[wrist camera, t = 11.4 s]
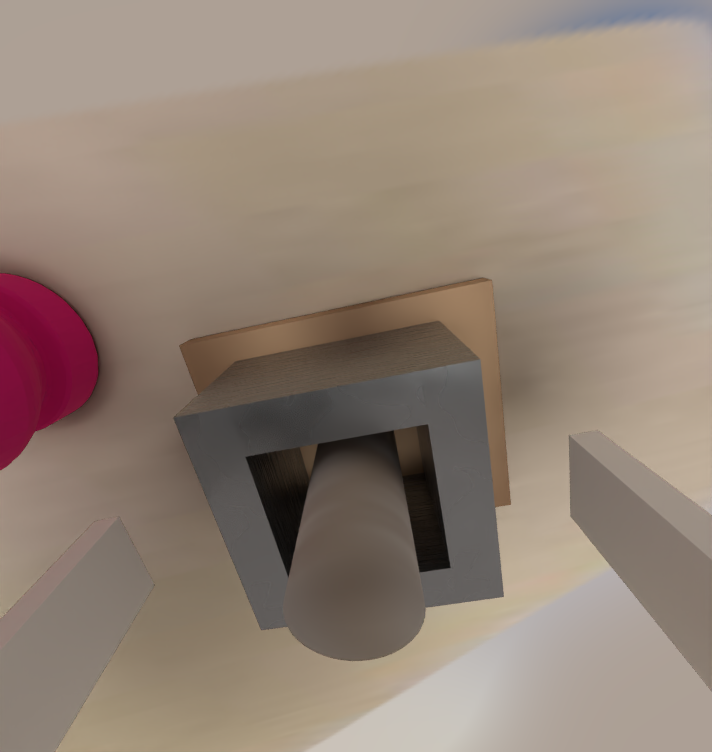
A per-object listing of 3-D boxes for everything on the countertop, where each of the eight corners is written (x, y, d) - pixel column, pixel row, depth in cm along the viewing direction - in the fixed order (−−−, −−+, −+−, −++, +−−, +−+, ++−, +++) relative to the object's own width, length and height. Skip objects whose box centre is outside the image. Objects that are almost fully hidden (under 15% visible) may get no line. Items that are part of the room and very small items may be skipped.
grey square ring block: (289, 522, 17) (261, 630, 12) (235, 361, 14) (173, 417, 10) (462, 495, 16) (504, 596, 11) (439, 320, 14) (480, 359, 9)
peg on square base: (260, 529, 18) (174, 775, 10) (190, 339, 15) (-32, 459, 7) (502, 490, 17) (639, 725, 9) (483, 277, 14) (671, 325, 6)
